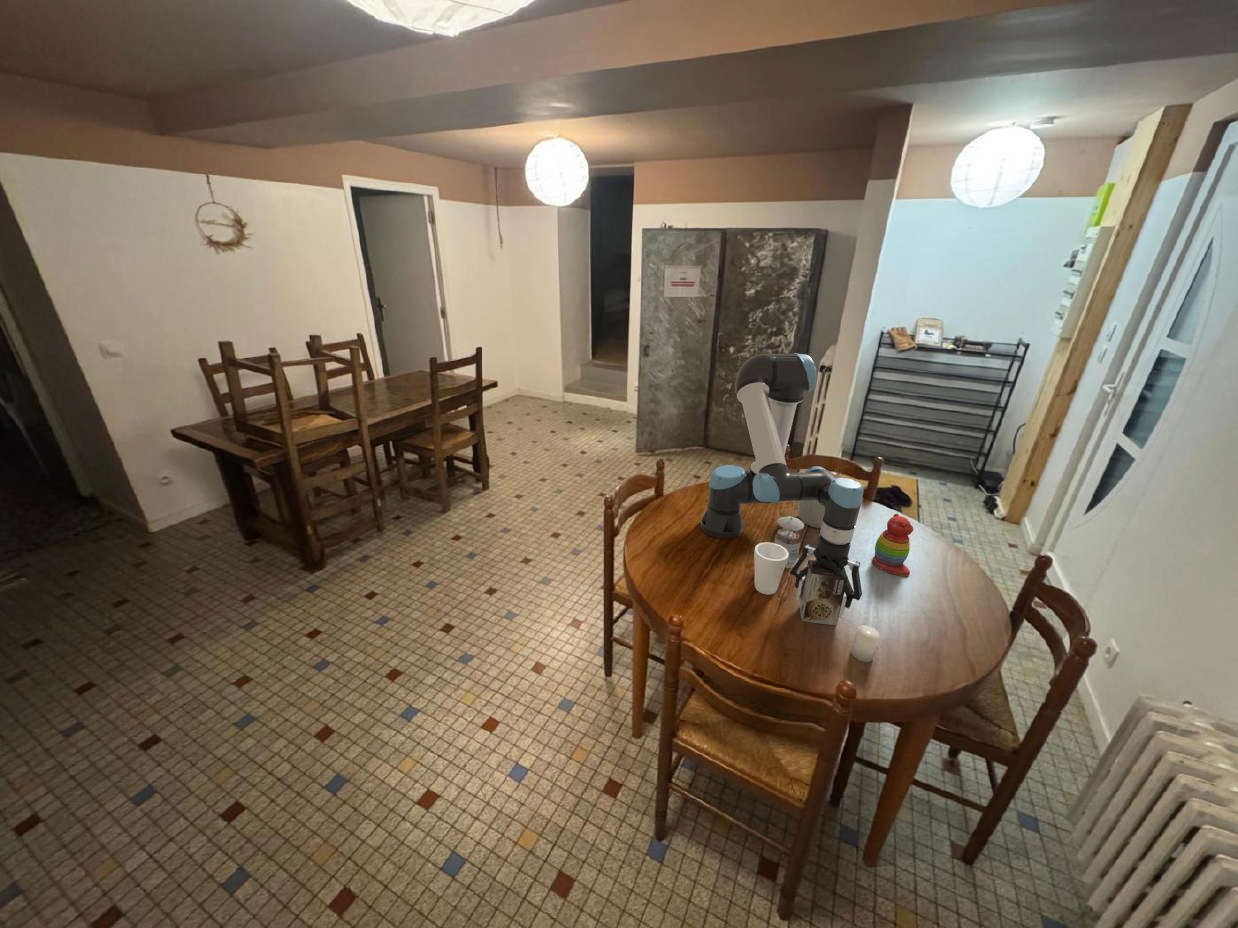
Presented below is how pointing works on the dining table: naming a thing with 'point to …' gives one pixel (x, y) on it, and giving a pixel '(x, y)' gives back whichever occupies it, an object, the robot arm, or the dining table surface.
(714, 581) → the dining table surface
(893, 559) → the stacking bear
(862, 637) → the white cylinder
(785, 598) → the dining table surface
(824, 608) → the coffee box
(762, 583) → the foam cup
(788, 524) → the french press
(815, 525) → the canister
